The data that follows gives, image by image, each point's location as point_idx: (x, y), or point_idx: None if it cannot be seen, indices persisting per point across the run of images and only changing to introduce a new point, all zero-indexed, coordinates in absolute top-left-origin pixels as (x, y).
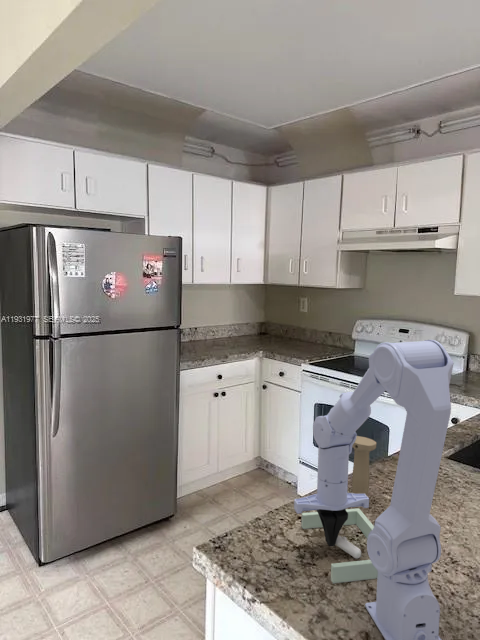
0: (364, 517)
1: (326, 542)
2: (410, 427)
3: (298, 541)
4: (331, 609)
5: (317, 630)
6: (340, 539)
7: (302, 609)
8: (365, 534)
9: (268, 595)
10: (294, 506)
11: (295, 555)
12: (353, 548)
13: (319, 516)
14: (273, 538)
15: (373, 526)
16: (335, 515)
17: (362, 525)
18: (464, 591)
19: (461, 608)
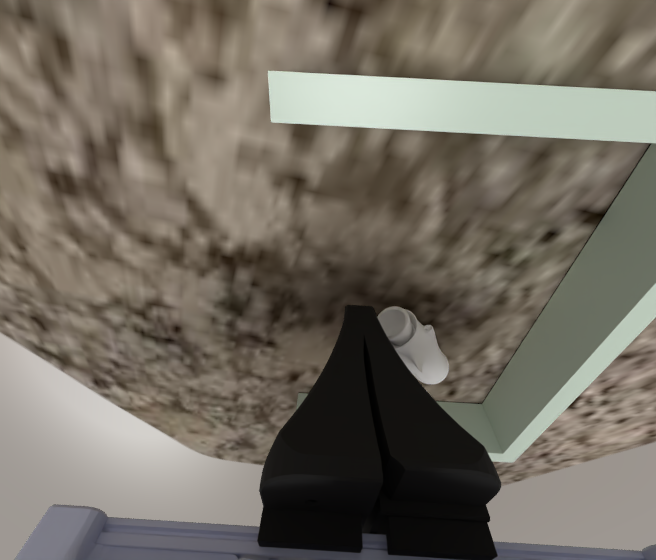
0: None
1: (344, 314)
2: None
3: (239, 221)
4: (268, 439)
5: (229, 457)
6: (398, 354)
7: (208, 431)
8: (587, 256)
9: (131, 398)
10: (36, 542)
11: (213, 298)
12: (421, 378)
13: (311, 390)
14: (107, 170)
15: (635, 333)
16: (364, 531)
17: (635, 234)
18: (575, 456)
19: (516, 472)
